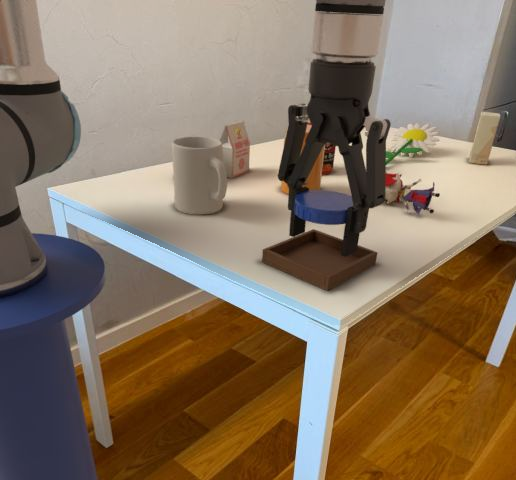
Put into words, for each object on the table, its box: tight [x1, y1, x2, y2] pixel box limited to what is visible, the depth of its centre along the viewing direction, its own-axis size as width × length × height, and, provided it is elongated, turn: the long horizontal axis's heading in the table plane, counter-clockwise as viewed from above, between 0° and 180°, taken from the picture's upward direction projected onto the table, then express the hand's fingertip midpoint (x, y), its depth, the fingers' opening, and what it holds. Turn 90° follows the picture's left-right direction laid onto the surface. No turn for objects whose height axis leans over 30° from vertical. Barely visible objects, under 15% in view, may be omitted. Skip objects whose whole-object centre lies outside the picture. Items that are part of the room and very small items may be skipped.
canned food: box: [307, 119, 337, 176], centre depth 110 cm, size 8×8×11 cm
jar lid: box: [294, 189, 354, 226], centre depth 68 cm, size 9×9×2 cm
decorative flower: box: [386, 122, 441, 166], centre depth 124 cm, size 13×5×30 cm
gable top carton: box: [219, 120, 251, 179], centre depth 106 cm, size 4×7×10 cm, turn 149°
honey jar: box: [280, 125, 325, 195], centre depth 97 cm, size 8×8×12 cm
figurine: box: [385, 172, 441, 216], centre depth 93 cm, size 6×8×15 cm
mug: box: [171, 136, 228, 216], centre depth 86 cm, size 12×8×11 cm
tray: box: [261, 228, 379, 292], centre depth 72 cm, size 12×12×2 cm
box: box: [468, 111, 502, 166], centre depth 122 cm, size 5×4×11 cm
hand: (322, 243), depth 71 cm, fingers closed on jar lid, 8 cm apart
